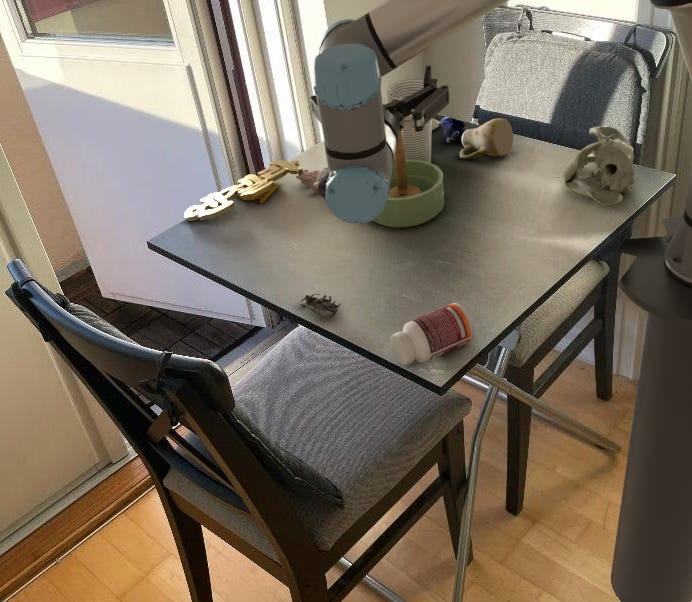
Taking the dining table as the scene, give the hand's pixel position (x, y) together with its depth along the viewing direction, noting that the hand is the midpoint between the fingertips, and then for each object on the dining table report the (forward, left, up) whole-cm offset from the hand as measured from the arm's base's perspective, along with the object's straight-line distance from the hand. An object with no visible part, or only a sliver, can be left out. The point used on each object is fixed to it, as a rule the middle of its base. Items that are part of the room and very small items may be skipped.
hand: (384, 78), depth 123 cm
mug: (+1, -32, -28) cm, 42 cm away
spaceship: (+7, -35, -24) cm, 43 cm away
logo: (+31, -2, -28) cm, 42 cm away
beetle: (0, +21, -26) cm, 34 cm away
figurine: (+21, -5, -28) cm, 35 cm away
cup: (+11, -23, -28) cm, 38 cm away
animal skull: (-26, -28, -29) cm, 48 cm away
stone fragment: (+18, -35, -25) cm, 47 cm away
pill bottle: (-24, +20, -25) cm, 40 cm away
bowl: (+4, -8, -28) cm, 29 cm away
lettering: (+35, +2, -27) cm, 44 cm away
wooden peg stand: (+4, -8, -27) cm, 29 cm away
